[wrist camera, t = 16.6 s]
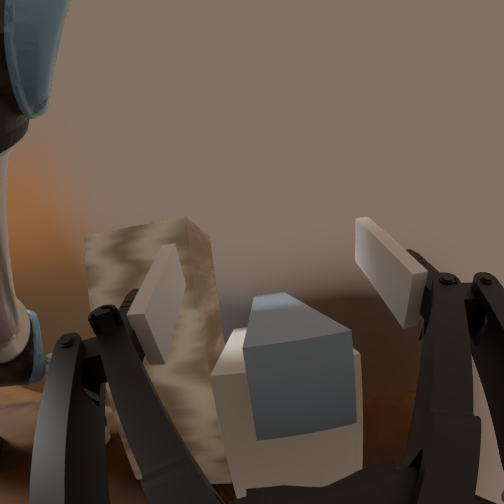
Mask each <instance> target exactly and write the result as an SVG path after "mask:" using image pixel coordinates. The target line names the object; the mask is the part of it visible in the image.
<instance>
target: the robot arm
mask: <svg viewBox="0 0 504 504" xmlns="http://www.w3.org/2000/svg"><path fill="white" fill-rule="evenodd" d="M70 1H71V0H0V387H5V386H15V385H29V384H31V383H36V382H40V381H41V380H42V379H43V378H44V374H45V364H44V357H43V346H42V339H41V332H40V327H39V322H38V318H37V315H36V313H35V312H34V311H32V310H28V309H25V307H24V305H23V304H22V303H21V302H20V301H19V300H18V299H17V298H16V296H15V291H14V284H13V278H12V270H11V262H10V254H9V242H8V226H7V170H8V155H9V153H10V152H11V151H12V150H13V149H14V148H16V147H17V146H18V145H19V144H20V143H21V142H22V141H23V139H24V138H25V136H26V134H27V129H28V124H29V119H34V118H36V117H37V116H42V115H43V114H45V113H46V111H47V109H48V104H49V98H50V92H51V85H52V78H53V73H54V67H55V62H56V57H57V52H58V48H59V44H60V39H61V35H62V31H63V27H64V23H65V19H66V16H67V12H68V8H69V5H70ZM355 255H356V256H355V261H356V263H357V264H358V265H359V267H360V268H361V269H362V271H363V272H364V273H365V275H366V276H367V278H368V279H369V280H370V282H371V283H372V284H373V286H374V287H375V288H376V290H377V291H378V293H379V294H380V296H381V297H382V298H383V300H384V301H385V303H386V304H387V306H388V307H389V308H390V310H391V311H392V313H393V314H394V316H395V317H396V319H397V320H398V322H399V323H400V325H401V326H402V327H403V328H407V327H411V326H414V325H417V324H418V320H419V315H420V314H421V316H422V317H423V318H424V323H423V327H422V331H421V335H420V339H419V340H421V339H422V345H421V357H420V367H419V376H418V385H417V392H416V399H415V405H414V411H413V417H412V422H411V428H410V432H409V437H408V442H407V446H406V451H405V454H404V457H403V460H402V462H401V464H400V467H395V465H394V462H393V460H391V461H388V462H385V463H382V464H378V465H375V466H372V467H368V468H365V469H361V470H358V471H357V472H355V473H353V474H351V475H349V476H347V477H345V478H342V479H340V480H338V481H336V482H334V483H332V484H330V485H327V486H324V487H306V486H289V485H280V486H271V487H261V488H248V489H246V496H245V497H241V498H238V499H236V500H233V501H231V502H229V503H227V504H496V503H494V502H491V501H489V500H486V499H484V498H482V497H480V496H477V495H475V490H476V484H477V476H478V468H479V456H480V442H481V419H480V418H479V416H474V415H473V375H472V360H471V354H472V357H473V359H474V362H475V365H476V368H477V371H478V374H479V377H480V380H481V383H482V386H483V389H484V392H485V396H486V399H487V403H488V406H489V410H490V414H491V418H492V421H493V426H494V430H495V434H496V438H497V443H498V449H499V454H500V458H501V463H502V467H503V470H504V288H503V286H502V285H501V284H500V283H499V281H498V280H497V279H496V277H494V276H493V275H491V274H490V273H486V272H480V273H476V274H475V275H474V279H473V283H461V282H460V280H459V278H457V277H456V276H455V275H453V274H450V273H439V272H438V271H437V270H436V269H435V268H434V267H433V266H432V265H431V264H429V263H427V261H426V260H425V259H423V257H422V256H421V255H419V254H418V253H416V252H415V251H412V250H410V249H408V250H405V249H404V248H403V247H402V246H400V245H399V244H398V243H397V242H396V241H395V240H394V239H393V238H391V237H390V236H389V235H388V234H387V233H386V232H385V231H384V230H382V229H381V228H380V227H379V226H378V225H377V224H375V223H374V222H373V221H372V220H371V219H369V218H368V217H363V218H356V252H355ZM185 287H186V282H185V279H184V275H183V271H182V268H181V264H180V260H179V256H178V252H177V248H176V244H175V243H173V244H167V245H162V247H161V249H160V251H159V253H158V255H157V256H156V258H155V260H154V262H153V264H152V266H151V268H150V270H149V271H148V273H147V275H146V277H145V279H144V281H143V283H142V285H141V287H140V288H138V289H132V290H131V291H130V292H129V293H128V294H127V295H126V297H125V298H124V300H123V303H122V304H121V306H120V308H119V309H117V307H116V306H115V305H112V304H106V305H103V306H100V307H98V308H96V309H94V310H93V311H92V312H91V313H90V315H89V317H88V321H89V322H90V325H91V326H92V329H93V331H94V333H95V335H96V337H94V338H90V339H87V340H83V341H82V339H81V337H80V336H79V334H77V333H68V334H65V335H64V336H62V337H61V338H60V339H59V340H58V341H57V342H56V344H55V347H54V350H53V354H52V357H51V361H50V365H49V368H48V372H47V376H46V381H45V385H44V389H43V394H42V398H41V403H40V408H39V414H38V419H37V425H36V431H35V438H34V445H33V453H32V463H31V475H30V492H29V504H110V498H109V489H108V478H107V465H106V446H105V385H106V382H108V384H109V388H110V391H111V394H112V398H113V401H114V404H115V407H116V410H117V413H118V416H119V419H120V422H121V424H122V427H123V430H124V433H125V435H126V438H127V441H128V443H129V446H130V448H131V451H132V453H133V455H134V458H135V460H136V463H137V465H138V467H139V469H140V472H141V474H142V479H140V483H141V486H142V489H143V491H144V493H145V495H146V497H147V499H148V501H149V503H150V504H226V503H225V502H224V501H223V499H222V498H221V497H220V495H219V494H218V493H217V492H216V490H215V489H214V487H213V486H212V485H211V483H210V482H209V480H208V479H207V477H206V476H205V474H204V473H203V471H202V470H201V468H200V467H199V465H198V464H197V462H196V460H195V459H194V457H193V456H192V454H191V452H190V451H189V449H188V448H187V446H186V444H185V443H184V441H183V439H182V438H181V436H180V434H179V432H178V431H177V429H176V427H175V425H174V424H173V422H172V420H171V418H170V416H169V414H168V413H167V411H166V409H165V407H164V405H163V403H162V401H161V399H160V397H159V395H158V393H157V392H156V390H155V388H154V385H153V383H152V381H151V379H150V377H149V375H148V373H147V371H146V369H145V367H144V365H143V360H144V357H146V359H147V361H148V363H149V365H166V361H167V357H168V353H169V348H170V344H171V340H172V336H173V332H174V329H175V325H176V321H177V317H178V313H179V309H180V306H181V302H182V298H183V295H184V291H185ZM1 447H2V441H1V438H0V450H1ZM502 500H503V502H504V491H503V493H502Z"/></svg>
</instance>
